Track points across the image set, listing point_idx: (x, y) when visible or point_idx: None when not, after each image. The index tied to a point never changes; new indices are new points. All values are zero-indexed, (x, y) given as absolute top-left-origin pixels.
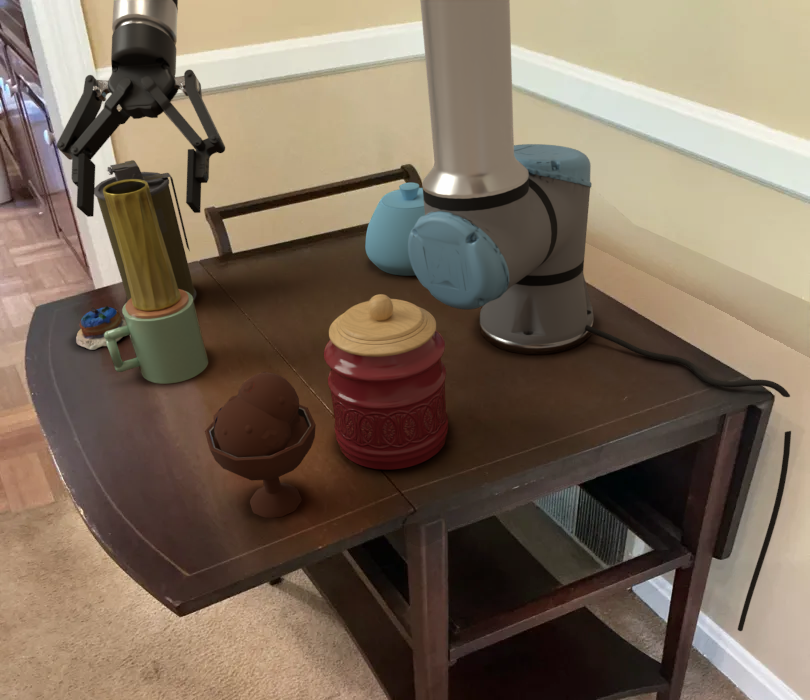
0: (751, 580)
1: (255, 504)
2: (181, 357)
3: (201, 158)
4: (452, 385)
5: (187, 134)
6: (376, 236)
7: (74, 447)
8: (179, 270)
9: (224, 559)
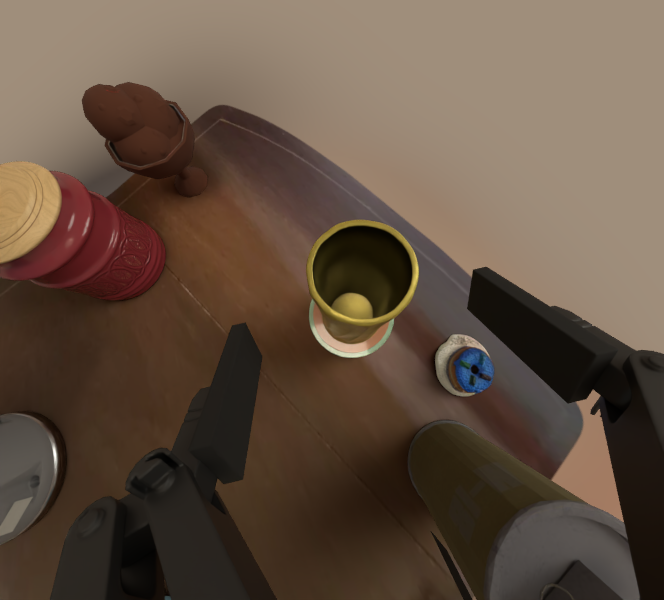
0: None
1: (198, 169)
2: None
3: (186, 438)
4: (89, 344)
5: (198, 523)
6: None
7: (363, 198)
8: (423, 479)
9: (205, 133)
